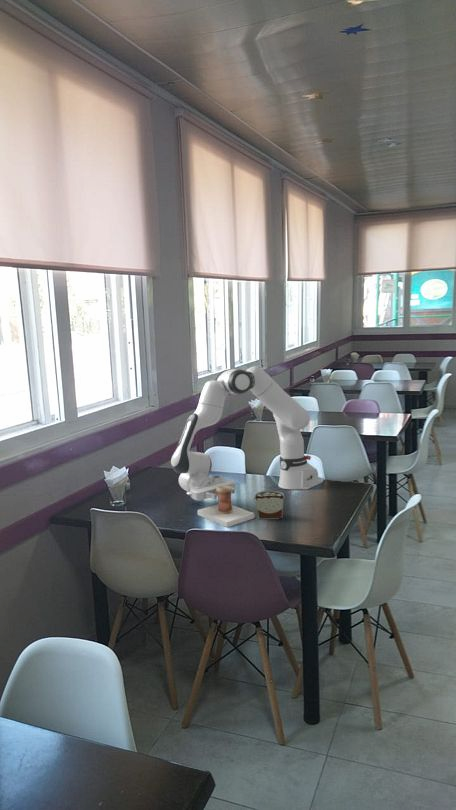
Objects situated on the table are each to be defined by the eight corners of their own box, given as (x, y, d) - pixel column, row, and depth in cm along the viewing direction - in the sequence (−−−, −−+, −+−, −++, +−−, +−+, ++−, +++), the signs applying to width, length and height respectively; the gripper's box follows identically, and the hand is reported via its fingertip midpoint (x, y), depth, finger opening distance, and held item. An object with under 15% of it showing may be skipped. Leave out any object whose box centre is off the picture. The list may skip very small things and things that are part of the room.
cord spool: (226, 508, 236) (225, 484, 235) (236, 511, 231) (234, 487, 230) (214, 511, 232) (213, 488, 231) (223, 515, 228) (222, 491, 226)
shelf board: (224, 506, 244) (224, 502, 244) (254, 518, 228) (254, 513, 228) (197, 514, 236) (197, 510, 236) (226, 527, 220) (226, 522, 220)
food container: (286, 513, 232) (285, 489, 230) (286, 518, 226) (285, 494, 224) (255, 513, 233) (254, 490, 232) (255, 519, 227) (253, 495, 226)
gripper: (184, 485, 235) (203, 492, 224) (223, 475, 247) (243, 481, 236) (185, 500, 236) (204, 507, 225) (224, 488, 248) (244, 495, 237)
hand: (224, 494), depth 230 cm, fingers open, 8 cm apart
